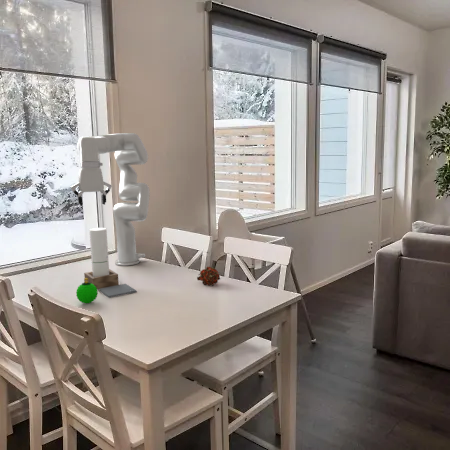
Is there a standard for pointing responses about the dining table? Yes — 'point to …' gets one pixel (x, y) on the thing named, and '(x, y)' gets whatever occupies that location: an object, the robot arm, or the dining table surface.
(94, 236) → the cylindrical container
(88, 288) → the ornament
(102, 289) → the mat
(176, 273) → the dining table surface
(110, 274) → the box
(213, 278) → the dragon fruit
